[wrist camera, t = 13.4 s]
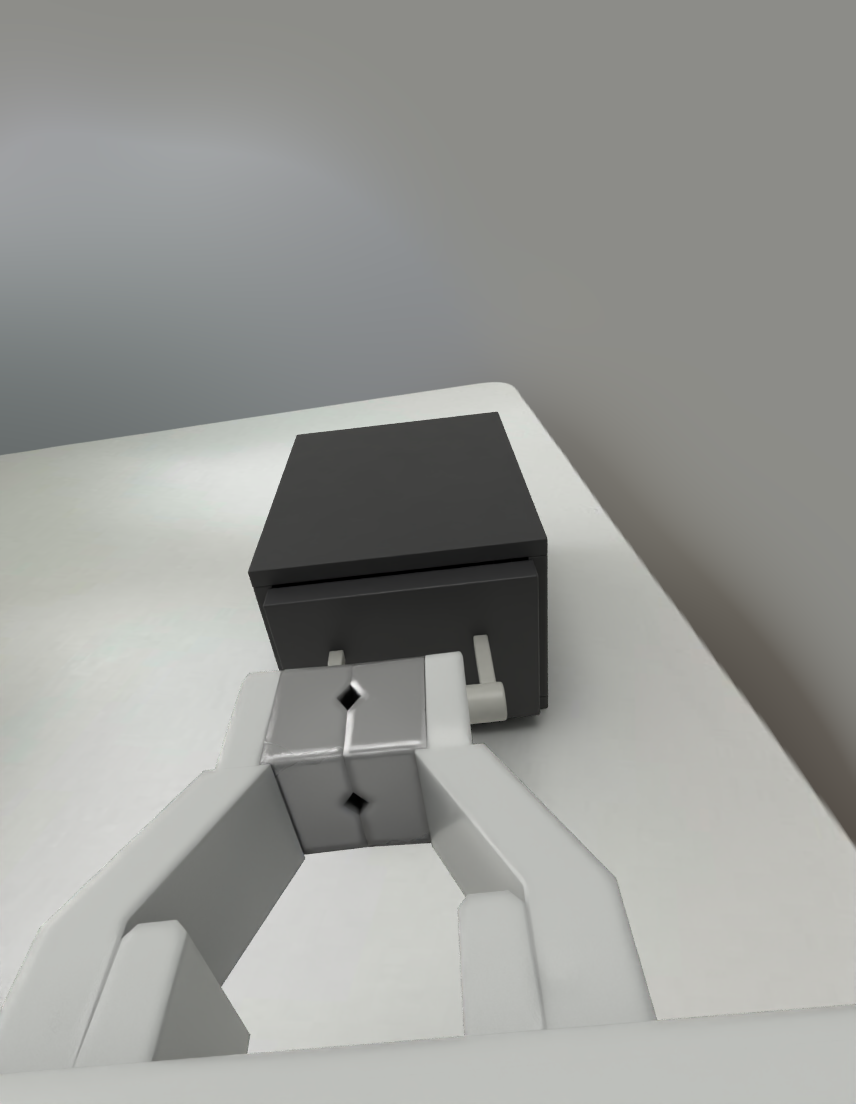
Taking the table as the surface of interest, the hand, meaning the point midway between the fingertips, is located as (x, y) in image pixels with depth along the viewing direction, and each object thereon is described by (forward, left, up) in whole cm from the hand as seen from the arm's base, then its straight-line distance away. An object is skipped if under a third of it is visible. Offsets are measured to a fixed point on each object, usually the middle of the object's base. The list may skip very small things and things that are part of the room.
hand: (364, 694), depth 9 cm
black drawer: (+18, +1, -16) cm, 24 cm away
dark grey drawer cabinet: (+22, +1, -17) cm, 28 cm away
